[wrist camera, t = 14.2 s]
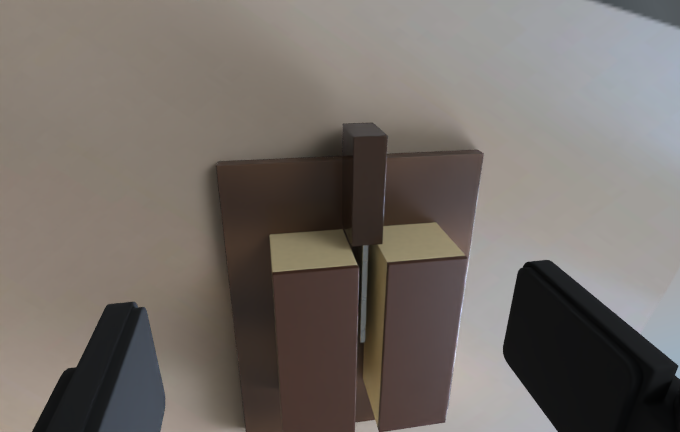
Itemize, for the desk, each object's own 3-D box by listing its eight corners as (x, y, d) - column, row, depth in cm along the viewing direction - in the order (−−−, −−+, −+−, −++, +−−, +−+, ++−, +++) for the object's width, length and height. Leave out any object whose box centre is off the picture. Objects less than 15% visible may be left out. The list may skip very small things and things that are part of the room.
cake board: (217, 161, 29) (215, 165, 28) (477, 149, 32) (484, 153, 31) (246, 428, 39) (246, 438, 38) (443, 400, 41) (448, 409, 41)
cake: (269, 234, 30) (272, 275, 26) (436, 222, 32) (468, 258, 27) (279, 389, 36) (283, 446, 31) (420, 370, 38) (445, 422, 33)
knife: (342, 123, 28) (353, 136, 25) (373, 122, 28) (388, 135, 25) (341, 317, 34) (350, 348, 31) (366, 315, 35) (377, 344, 31)
